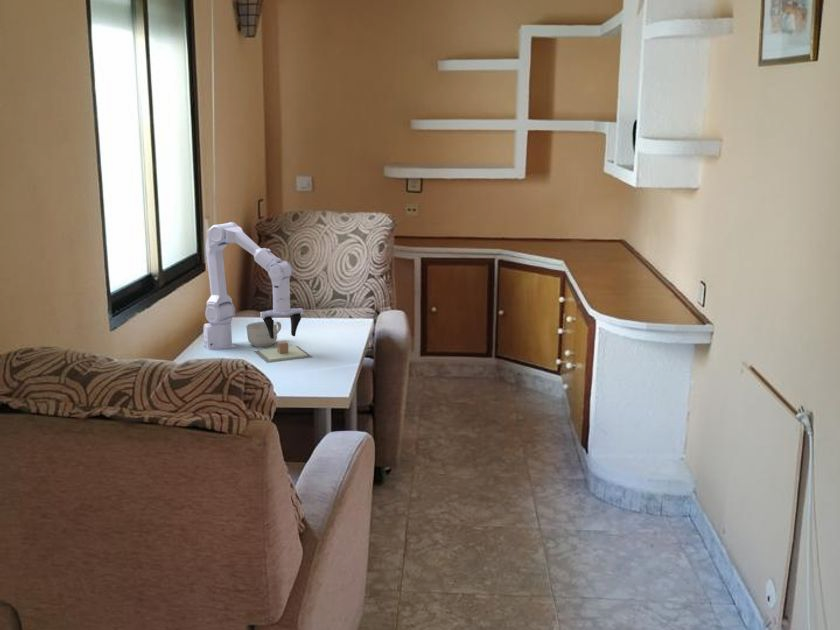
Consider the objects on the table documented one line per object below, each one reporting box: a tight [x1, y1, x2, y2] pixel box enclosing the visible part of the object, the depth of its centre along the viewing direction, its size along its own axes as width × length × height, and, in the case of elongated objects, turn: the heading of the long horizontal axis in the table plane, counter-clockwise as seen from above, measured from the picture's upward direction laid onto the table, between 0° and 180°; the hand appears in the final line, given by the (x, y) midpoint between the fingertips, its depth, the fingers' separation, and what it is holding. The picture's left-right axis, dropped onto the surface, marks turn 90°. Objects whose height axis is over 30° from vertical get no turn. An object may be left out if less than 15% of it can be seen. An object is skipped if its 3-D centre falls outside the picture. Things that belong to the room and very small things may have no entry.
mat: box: [253, 345, 313, 364], centre depth 289 cm, size 16×16×1 cm
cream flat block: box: [258, 340, 307, 361], centre depth 288 cm, size 13×13×4 cm
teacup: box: [245, 320, 282, 348], centre depth 301 cm, size 14×11×8 cm
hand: (282, 336), depth 287 cm, fingers open, 7 cm apart
